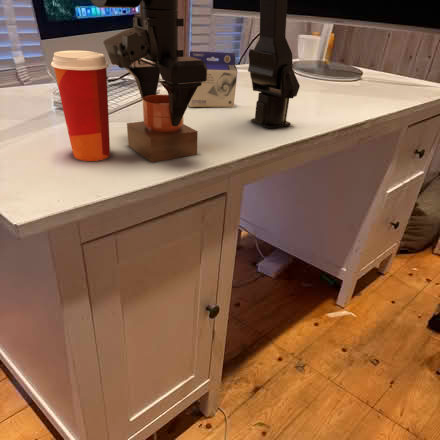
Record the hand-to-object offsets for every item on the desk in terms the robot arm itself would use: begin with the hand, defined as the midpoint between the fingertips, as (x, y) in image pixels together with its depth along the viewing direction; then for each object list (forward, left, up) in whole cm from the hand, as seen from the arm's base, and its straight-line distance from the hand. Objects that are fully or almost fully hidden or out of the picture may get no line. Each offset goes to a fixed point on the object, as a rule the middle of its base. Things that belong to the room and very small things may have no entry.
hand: (161, 118), depth 71 cm
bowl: (0, 0, -1) cm, 1 cm away
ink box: (-26, -23, -6) cm, 35 cm away
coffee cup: (+12, -3, -6) cm, 14 cm away
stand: (0, 0, -5) cm, 5 cm away
